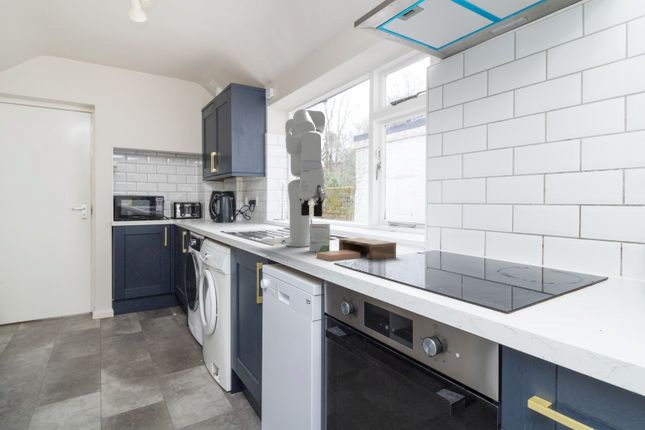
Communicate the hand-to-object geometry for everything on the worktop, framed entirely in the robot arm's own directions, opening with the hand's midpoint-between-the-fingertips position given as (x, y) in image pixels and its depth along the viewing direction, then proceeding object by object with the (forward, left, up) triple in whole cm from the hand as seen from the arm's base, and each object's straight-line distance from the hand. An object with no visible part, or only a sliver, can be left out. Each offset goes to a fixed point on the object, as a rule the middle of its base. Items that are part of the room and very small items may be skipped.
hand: (311, 215), depth 125 cm
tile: (0, +12, -17) cm, 21 cm away
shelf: (0, +25, -16) cm, 30 cm away
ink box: (-19, +16, -16) cm, 30 cm away
